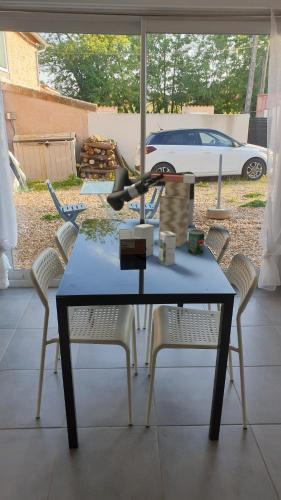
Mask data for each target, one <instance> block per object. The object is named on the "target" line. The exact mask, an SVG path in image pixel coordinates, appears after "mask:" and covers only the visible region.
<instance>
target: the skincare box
mask: <svg viewBox="0 0 281 500" xmlns="http://www.w3.org/2000/svg"><path fill="white" fill-rule="evenodd" d="M154 231H155V225H152V224H149V223H148V224H147V223H143V224H142V223H141V224H138V225H134V226H133V237H134V236H136V237H140V238H142V239H146V247H147V250H146V254H147V256H146V257H148V256H152V255H154V241H155V240H154V236H155V235H154V234H155V233H154Z"/></svg>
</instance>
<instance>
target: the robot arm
mask: <svg viewBox="0 0 281 500" xmlns="http://www.w3.org/2000/svg"><path fill="white" fill-rule="evenodd" d="M113 173H114V174H113V175H114V181H113V186H112V188H111V189H112V190H111V193H110V194H108V195H107V197H106V202H107V203H108V205H109V206H110V207H111V208H112V209H113V211H116V212H120V211H121V210H122V209H123V208H124V206H125V202H126V203H129V202H131V201H133V200H135V199H137V198H140V197H142V196H143V195H145V194H146V193H148V192H149V191H150V188H152V187H164V186H165V181H158V180H160V179H162V178H164V175H181V176H184V175H185V174H193V175H195V173H194V172H192V171H181V172H171V171H169V172H168V171H158V170H157V171H155V170H154V171H152V170H149V171H146V172H144V174H141V175H140V176H139V177H136V178H130V174H129V173H130V172H129V170H128V169H127V167H123V166H122V167H121V166H120V167H117V168H116V169H115V170H114V172H113ZM151 174H160V175H159V176H157V177H154V178H151ZM163 174H164V175H163ZM196 180H197V177H196V175H195V182H196ZM125 187H127V188H125ZM194 209H195V183H190V198H189V218H188V228H190V227H189V226H191V227H193V226H194V214H195V213H194Z"/></svg>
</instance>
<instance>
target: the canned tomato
mask: <svg viewBox="0 0 281 500" xmlns="http://www.w3.org/2000/svg"><path fill="white" fill-rule="evenodd" d="M205 233H206V232H205V230H203V229H188V238H187V254H188V255H190V256H202V255H204V250H205V235H206V234H205Z"/></svg>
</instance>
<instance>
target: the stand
mask: <svg viewBox="0 0 281 500" xmlns="http://www.w3.org/2000/svg"><path fill="white" fill-rule="evenodd" d="M189 198H190V183H180V182H165V188H164V195H160V196H159V216H158V217H159V221H158V222H159V225H158V226H159V227H158V243H159V242H160V232H165V231H171V232H172V233H174V234H176V243H175V248H181V247H183V245H185V244H186V243H187V242H188V236H189V227H188V218H189Z"/></svg>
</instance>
